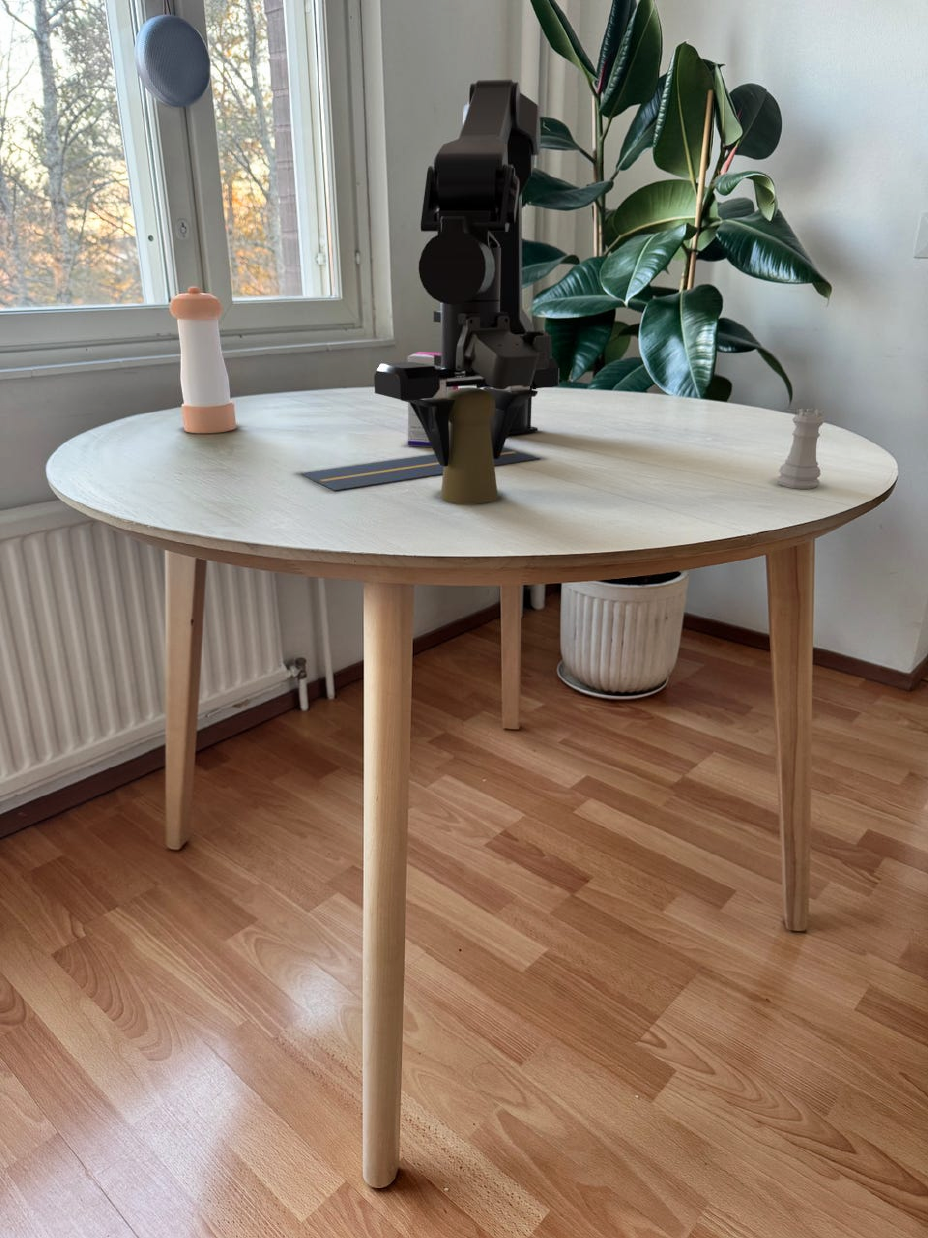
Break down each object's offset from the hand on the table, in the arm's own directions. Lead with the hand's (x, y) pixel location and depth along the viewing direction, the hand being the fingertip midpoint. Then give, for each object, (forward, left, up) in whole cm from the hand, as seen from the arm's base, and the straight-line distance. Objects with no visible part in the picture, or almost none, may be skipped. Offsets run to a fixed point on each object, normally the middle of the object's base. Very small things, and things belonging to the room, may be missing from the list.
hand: (469, 462), depth 86 cm
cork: (0, 0, -4) cm, 4 cm away
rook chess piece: (-33, +16, -4) cm, 37 cm away
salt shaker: (+11, -51, -4) cm, 52 cm away
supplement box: (-11, -25, -4) cm, 28 cm away
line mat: (-3, -14, -4) cm, 15 cm away
